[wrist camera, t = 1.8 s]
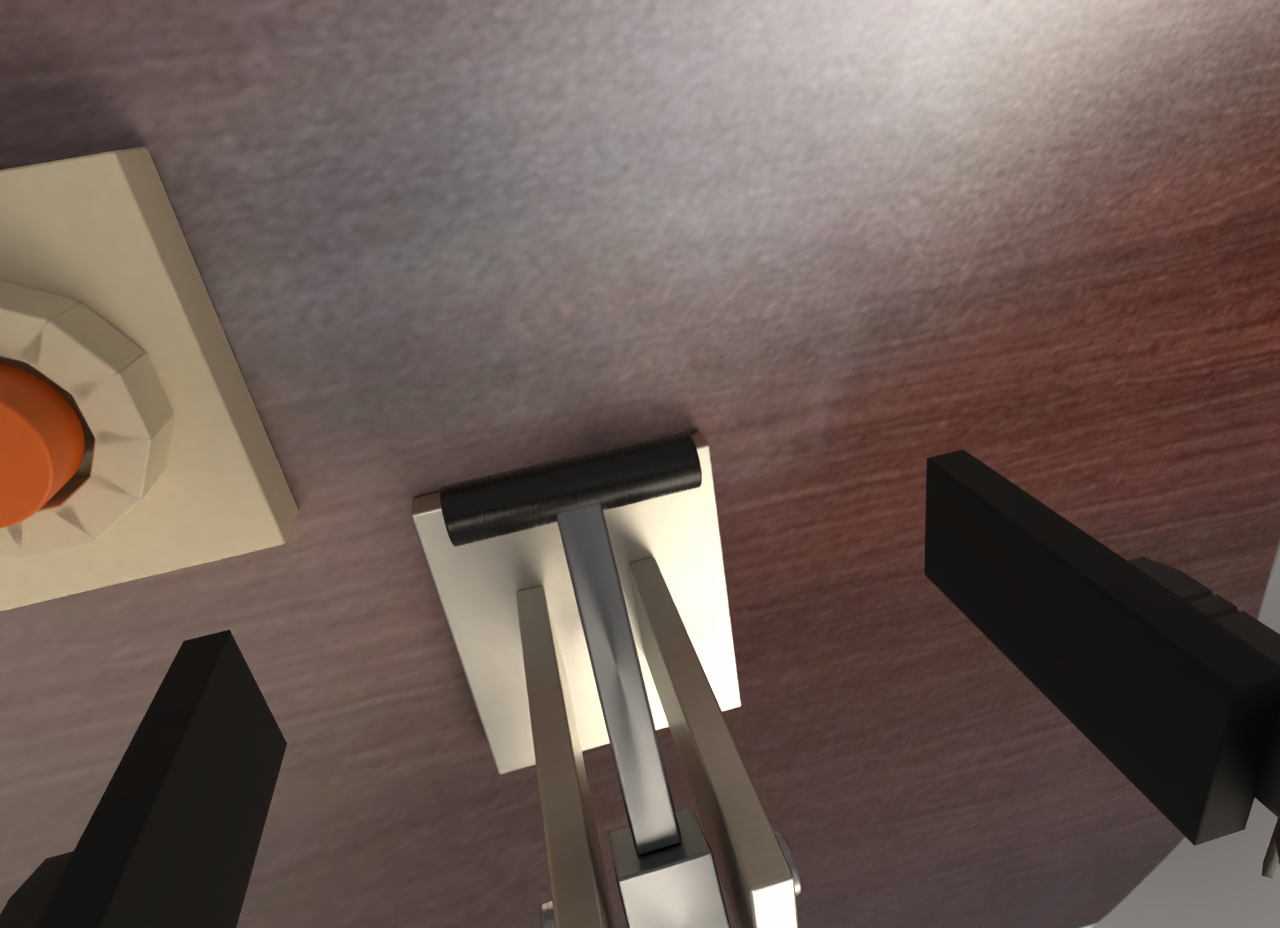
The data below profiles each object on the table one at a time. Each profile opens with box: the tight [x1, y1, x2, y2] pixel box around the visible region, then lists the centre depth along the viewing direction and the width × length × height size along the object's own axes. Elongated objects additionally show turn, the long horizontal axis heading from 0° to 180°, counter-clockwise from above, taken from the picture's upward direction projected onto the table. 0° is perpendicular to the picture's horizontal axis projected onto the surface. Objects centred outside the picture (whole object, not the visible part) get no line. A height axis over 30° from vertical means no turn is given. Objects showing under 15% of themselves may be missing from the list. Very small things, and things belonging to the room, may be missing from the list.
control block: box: [0, 147, 298, 611], centre depth 20 cm, size 11×9×4 cm
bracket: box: [411, 432, 801, 928], centre depth 22 cm, size 12×10×14 cm
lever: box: [440, 430, 730, 928], centre depth 18 cm, size 12×6×2 cm, turn 9°
